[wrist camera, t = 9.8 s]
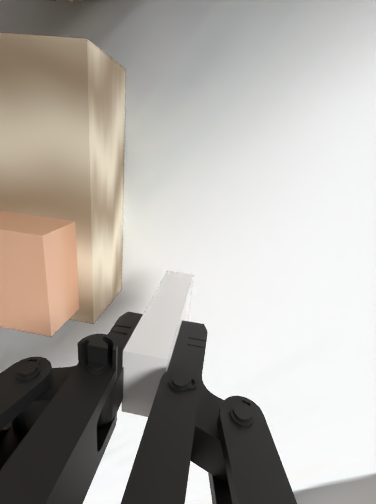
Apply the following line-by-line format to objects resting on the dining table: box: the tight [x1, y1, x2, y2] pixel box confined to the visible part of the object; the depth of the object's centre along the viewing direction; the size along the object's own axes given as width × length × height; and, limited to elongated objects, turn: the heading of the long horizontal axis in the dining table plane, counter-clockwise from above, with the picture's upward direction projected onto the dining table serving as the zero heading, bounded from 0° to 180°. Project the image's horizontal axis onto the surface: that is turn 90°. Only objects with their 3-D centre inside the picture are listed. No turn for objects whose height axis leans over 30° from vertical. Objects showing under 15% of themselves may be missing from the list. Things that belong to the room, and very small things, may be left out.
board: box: [0, 33, 126, 324], centre depth 19 cm, size 16×12×5 cm
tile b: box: [0, 211, 79, 337], centre depth 16 cm, size 6×6×3 cm
